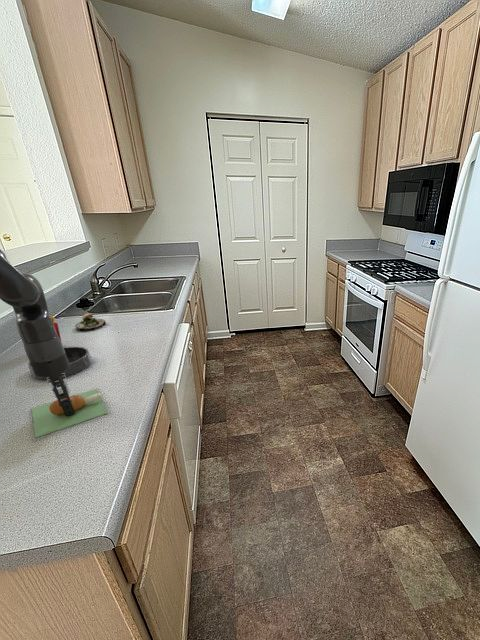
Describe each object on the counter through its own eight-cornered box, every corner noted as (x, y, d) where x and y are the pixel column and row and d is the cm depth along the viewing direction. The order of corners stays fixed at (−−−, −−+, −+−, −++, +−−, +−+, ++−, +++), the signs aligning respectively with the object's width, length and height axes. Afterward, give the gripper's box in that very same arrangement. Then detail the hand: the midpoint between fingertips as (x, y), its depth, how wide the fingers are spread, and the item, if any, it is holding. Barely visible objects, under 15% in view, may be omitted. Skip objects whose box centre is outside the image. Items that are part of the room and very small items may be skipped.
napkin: (32, 409, 92) (31, 408, 92) (96, 389, 101) (96, 388, 101) (35, 438, 81) (35, 437, 81) (107, 413, 90) (107, 412, 90)
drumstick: (53, 420, 88) (49, 411, 85) (50, 409, 90) (45, 400, 87) (105, 403, 95) (102, 395, 92) (101, 393, 96) (98, 384, 94)
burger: (76, 333, 143) (70, 317, 139) (75, 325, 152) (70, 310, 148) (107, 327, 148) (103, 311, 145) (104, 320, 157) (100, 305, 154)
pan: (31, 366, 116) (26, 356, 114) (87, 352, 125) (83, 342, 123) (34, 385, 104) (29, 374, 102) (95, 369, 113) (92, 358, 111)
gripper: (27, 349, 86) (50, 403, 94) (30, 369, 76) (55, 428, 84) (61, 341, 90) (80, 394, 98) (68, 359, 80) (89, 416, 88)
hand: (69, 409), depth 91 cm, fingers open, 5 cm apart
